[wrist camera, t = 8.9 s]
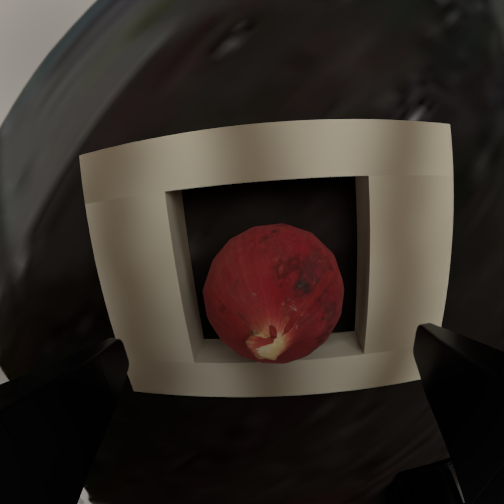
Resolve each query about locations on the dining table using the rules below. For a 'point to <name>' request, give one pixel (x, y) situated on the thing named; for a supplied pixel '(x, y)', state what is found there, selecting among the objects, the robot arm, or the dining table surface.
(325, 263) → the onion
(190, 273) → the cutout board
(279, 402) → the dining table surface
